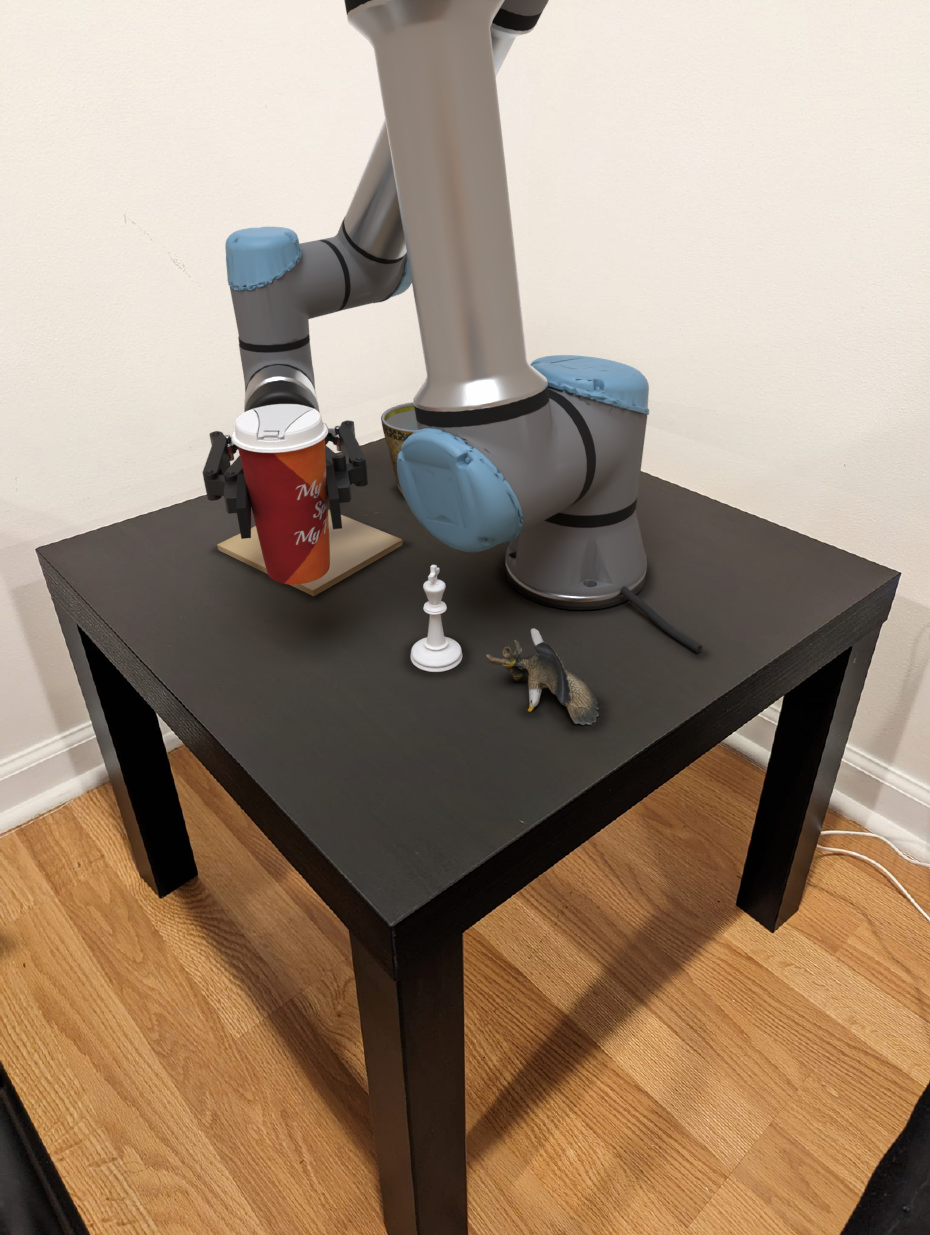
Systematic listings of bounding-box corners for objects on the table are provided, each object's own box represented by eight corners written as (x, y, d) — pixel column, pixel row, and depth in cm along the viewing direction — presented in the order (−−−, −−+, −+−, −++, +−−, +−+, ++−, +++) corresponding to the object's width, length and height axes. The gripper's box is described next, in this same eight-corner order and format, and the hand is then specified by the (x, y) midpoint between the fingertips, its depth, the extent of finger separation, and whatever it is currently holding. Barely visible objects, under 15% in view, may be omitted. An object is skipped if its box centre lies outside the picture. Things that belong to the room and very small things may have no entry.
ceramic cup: (441, 513, 107) (439, 436, 101) (371, 498, 111) (365, 423, 105) (484, 472, 117) (485, 400, 111) (419, 460, 120) (416, 389, 115)
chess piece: (469, 646, 84) (468, 557, 78) (452, 676, 80) (450, 584, 74) (421, 637, 85) (417, 548, 80) (402, 666, 81) (397, 575, 76)
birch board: (402, 545, 101) (402, 539, 100) (313, 596, 92) (312, 590, 91) (308, 506, 109) (307, 500, 108) (217, 550, 100) (216, 544, 99)
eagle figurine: (474, 700, 75) (561, 727, 70) (492, 620, 75) (580, 641, 70) (523, 703, 81) (606, 728, 76) (539, 628, 81) (624, 648, 76)
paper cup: (335, 591, 74) (318, 436, 66) (246, 591, 74) (218, 436, 66) (347, 546, 81) (332, 400, 73) (265, 546, 81) (241, 400, 73)
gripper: (380, 441, 92) (413, 546, 73) (190, 459, 88) (173, 572, 70) (375, 371, 87) (409, 463, 69) (175, 387, 84) (153, 487, 66)
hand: (290, 518), depth 69 cm, fingers closed on paper cup, 7 cm apart
